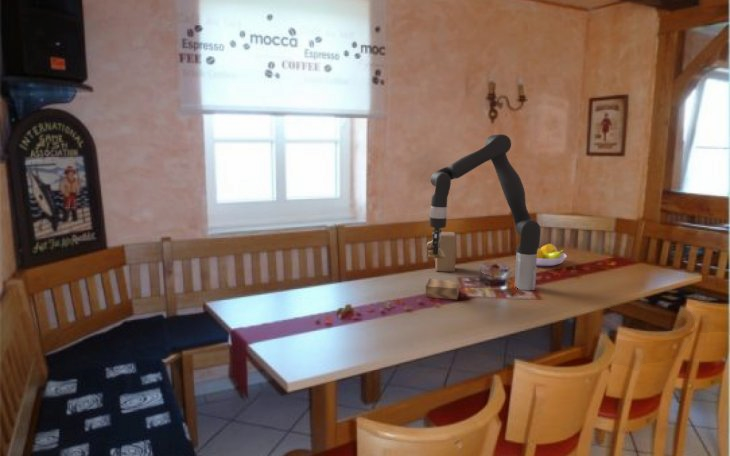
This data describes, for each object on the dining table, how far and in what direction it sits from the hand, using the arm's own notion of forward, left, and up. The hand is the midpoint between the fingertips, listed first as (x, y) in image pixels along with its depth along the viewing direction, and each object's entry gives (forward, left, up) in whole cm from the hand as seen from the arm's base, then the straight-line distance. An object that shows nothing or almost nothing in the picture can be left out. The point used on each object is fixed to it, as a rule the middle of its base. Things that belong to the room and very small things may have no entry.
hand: (436, 253), depth 239 cm
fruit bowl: (-53, -69, -19) cm, 89 cm away
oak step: (-4, +2, -19) cm, 19 cm away
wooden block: (-1, -42, -19) cm, 46 cm away
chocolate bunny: (0, 0, -2) cm, 2 cm away
